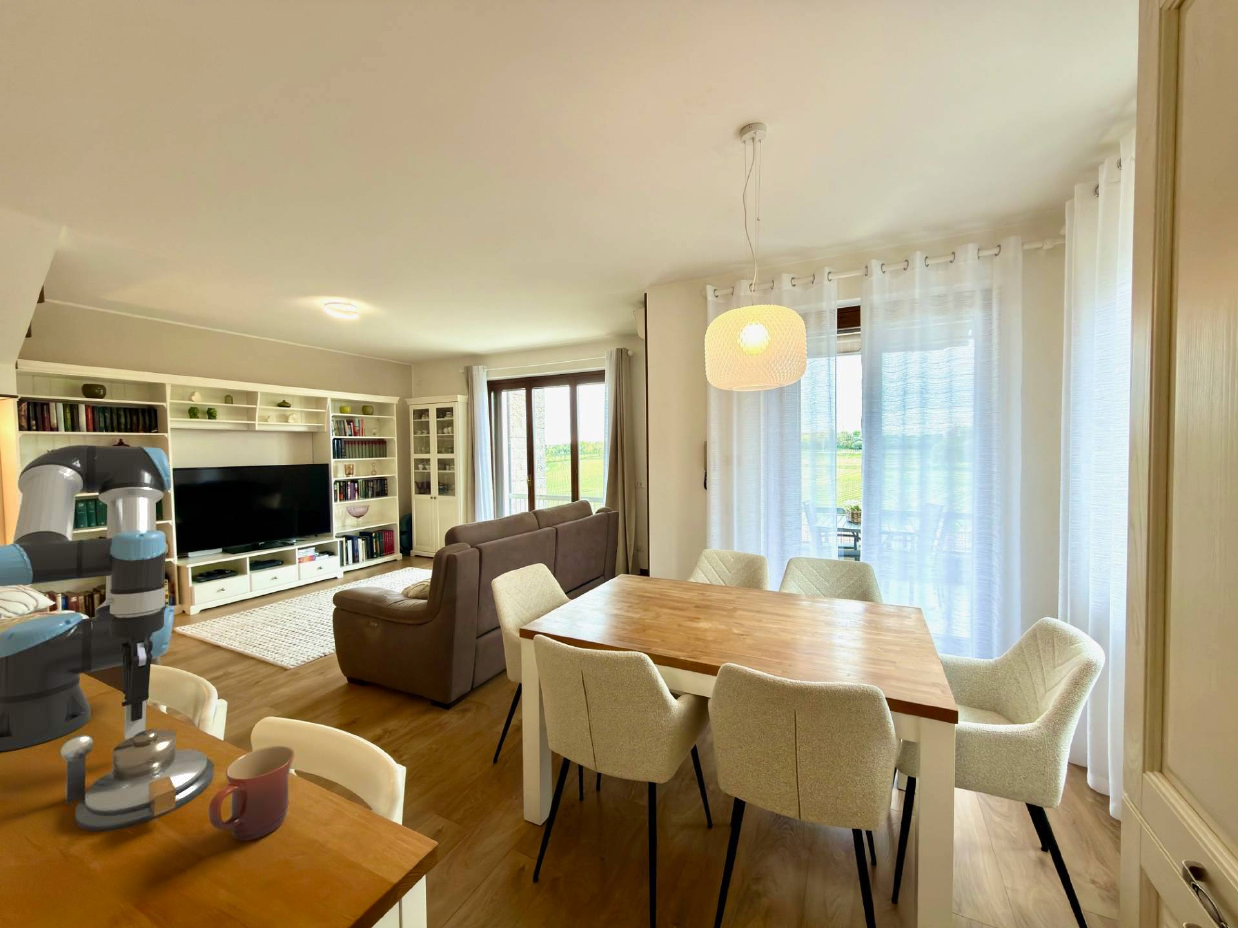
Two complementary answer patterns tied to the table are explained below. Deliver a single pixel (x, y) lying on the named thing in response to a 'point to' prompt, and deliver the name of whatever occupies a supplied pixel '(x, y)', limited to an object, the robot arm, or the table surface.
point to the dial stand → (76, 765)
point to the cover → (144, 753)
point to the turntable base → (141, 815)
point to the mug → (255, 793)
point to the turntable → (146, 787)
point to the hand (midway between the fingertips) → (134, 734)
